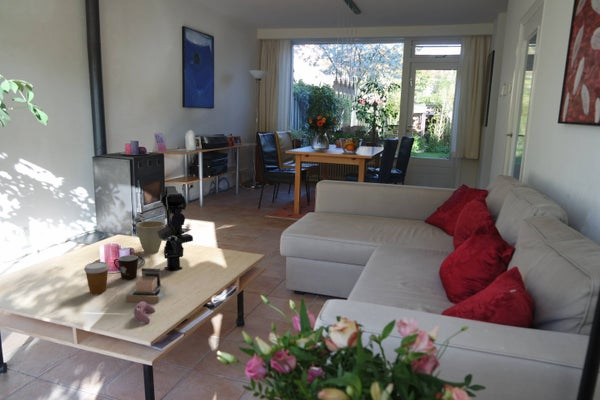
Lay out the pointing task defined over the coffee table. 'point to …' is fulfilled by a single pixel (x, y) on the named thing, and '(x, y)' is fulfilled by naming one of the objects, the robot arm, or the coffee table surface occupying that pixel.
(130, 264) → the coffee mug
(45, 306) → the coffee table surface
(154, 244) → the plant pot
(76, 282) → the coffee table surface
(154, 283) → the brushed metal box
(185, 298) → the coffee table surface
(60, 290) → the coffee table surface
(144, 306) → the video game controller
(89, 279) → the disposable coffee cup
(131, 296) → the dock bay
